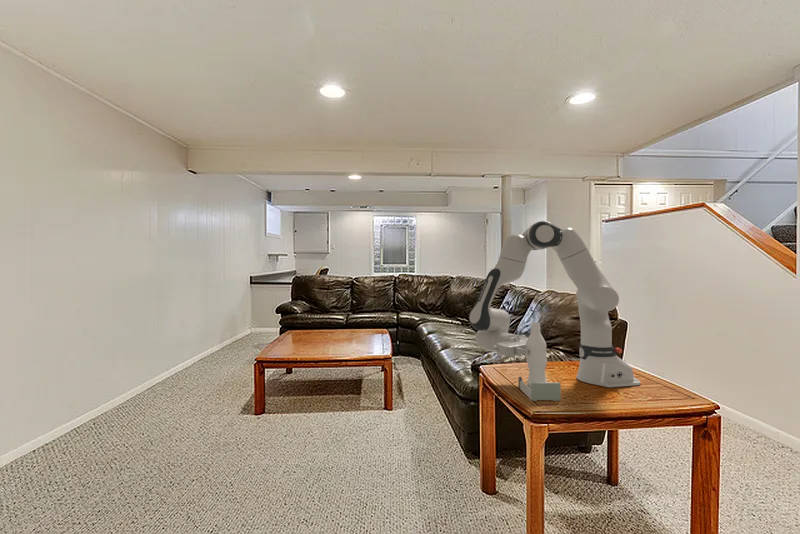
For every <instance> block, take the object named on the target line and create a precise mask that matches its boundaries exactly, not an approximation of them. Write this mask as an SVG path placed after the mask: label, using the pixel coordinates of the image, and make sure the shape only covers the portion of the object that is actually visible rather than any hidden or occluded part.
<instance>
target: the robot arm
mask: <svg viewBox="0 0 800 534" xmlns="http://www.w3.org/2000/svg"><path fill="white" fill-rule="evenodd" d="M548 248H551V249H553V250H554V251H555V252H556V254H557V256H558V258H559V261H560V262H561V264H562V266H563V269H564V270H565V273H566V274H567V275H568V278H569V279H570V280H571V281H572V283H573V284H574V286H575V287H576V288H577V289H576V293H575V296H576V300H577V308H578V314H579V320H580V321H579V322H580V323H579V324H580V343H579V358H580V359H579V366H578V371H577V374H576V376H575V377H576V379H577V380H578V381H581V382H583V383H587V384H591V385H595V386H596V385H597V386H601V387H604V388H605V387H606V388H619V387H630V386H631V387H633V386H641V385H642V384H641V381H640V379H638V378H636V377H634V372H633V369H632V368H633V367H632V366H631V365H629V364H628V363H627V362H626V361H624V360H623V359H622V358H620V357H619V356H618V355H617V353H618V354H622V353H623V350H622V348H620V347H615V346H613V344H612V342H613V339H612V337H613V333H612V331H613V330H612V329H613V328H612V327H613V326H612V324H611V321H610V316H609V312H610V311H613V310H614V309H616V307H618V304H619V302H620V297H619V294H618V293H617V291H616V290H615V289H614V288H613V286H612V285H611V283H610V281H609V280H608V279H607V277H606V276H605V275H604V273H603V272H602V271H601V270H600V268H599V267H598V265H597V264H596V261H595V260H594V258H593V257H592V254H591V252H590V250H589V248H588V246H587V245H586V243H585V242H584V240H583V239H582V237H581V236H580V234H579V233H578V232H577V231H576V230H575V229H574V228H573V227H564V228H560V227H558V226H556V225H555V224H553V223H552V222H550V221H545V220H541V221H537V222H535V223H533V224H531V225H530V226H529V227H528V228H527V229H526V230H525V231H524V232H523V234H518V233H513V234H510V235H508V236H507V237H506V238H505V241H504V243H503V245H502V247H501V250H500V253H499V257H498V259H497V263H496V264H495V266H494V267H493V269H492V268H491V270H490V271H489V272H488V273H487V276H486V278H485V280H484V282H483V285H482V287H481V290H480V292H479V294H478V296H477V300H476V302H475V303H474V305H473V306H472V308H471V310H470V312H469V316H468V320H469V323H470V325H471V327H472V328H473V329H474V330H476V331H477V332H476V334H475V342H476V343H477V345H478V346H479V347H480V348H482V349H484V350H485V351H489V352H493V353H497V354H499V355H501V356H504V357H513V356H517V355H525V356H527V355H529V354H530V350H528V349H526V342H527V339H528V337H529V336H526V335H525V334H515V333H509V332H510V331H509V330H510V328H511V316H510V314H509V312H508V311H506V310H505V309H501V308H496V307H495V308H494V307H491V304H492V303H493V301H494V297H495V295H496V293H497V291H498V289H499V288H500V287H501V286H503V285H506V284H509V283H512V282H515V281H517V280H519V279H520V278H521V277H522V276H523V273H524V272H525V268H526V265H527V261H528V256H529V255H530V253H531V251H537V250H545V249H548Z"/></svg>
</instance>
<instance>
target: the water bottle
mask: <svg viewBox="0 0 800 534" xmlns="http://www.w3.org/2000/svg"><path fill="white" fill-rule="evenodd" d="M541 330H542V329H541V324H540V322H538V321H537V322H535V321H533V322H531V323H530V333H529V335H528V336H527V337H528V339H527V342H526V349H528V350H530V354H529V355H526V360H525V361H526V363H527V366H528V379H527V381H526V385H527V386H528V387H529V388H530V389H531V383H547V382H548V381H547V379H546V366H547V364H548V360H547V343H546V340H545V339H544V337H543V335H542V333H541Z"/></svg>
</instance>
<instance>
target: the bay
mask: <svg viewBox="0 0 800 534" xmlns="http://www.w3.org/2000/svg"><path fill="white" fill-rule="evenodd" d="M518 388H519V389H520V390H521V391H522V392H523V394H525V395H526V396H527V397H528V398H529V400H530V401H532V402H535V401H536V402H538V401H537V400H553V401H552V402H554V401H555V402H561V398H562V397H561V395H562V393H561V392H562V391H561V382H555V381H552V382H548V381H547V383H531V389H530V388H529V387H528V386H527V383H525V381H523V377H522V376H518Z"/></svg>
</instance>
